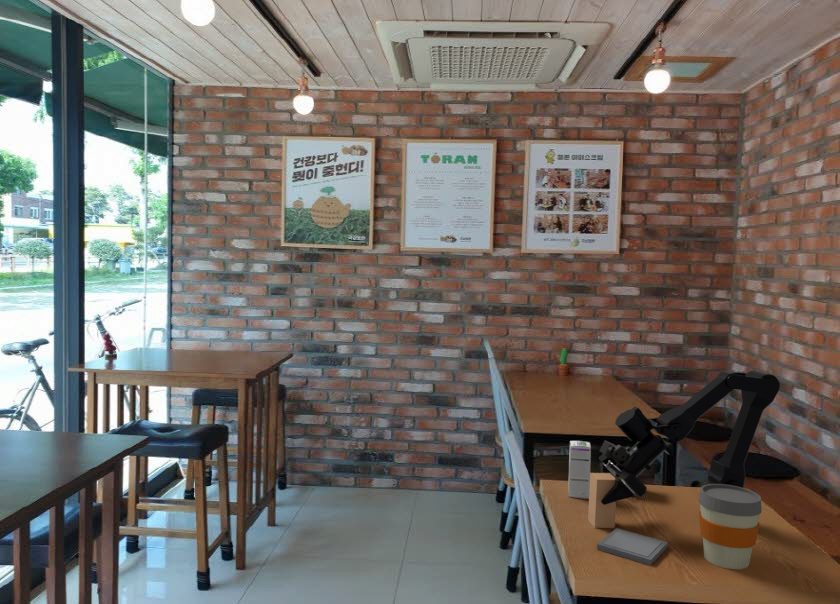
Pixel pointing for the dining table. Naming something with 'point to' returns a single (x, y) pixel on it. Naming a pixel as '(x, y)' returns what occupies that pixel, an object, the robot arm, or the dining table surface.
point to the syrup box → (579, 469)
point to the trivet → (633, 546)
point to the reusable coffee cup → (729, 524)
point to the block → (597, 511)
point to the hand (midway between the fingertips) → (596, 497)
